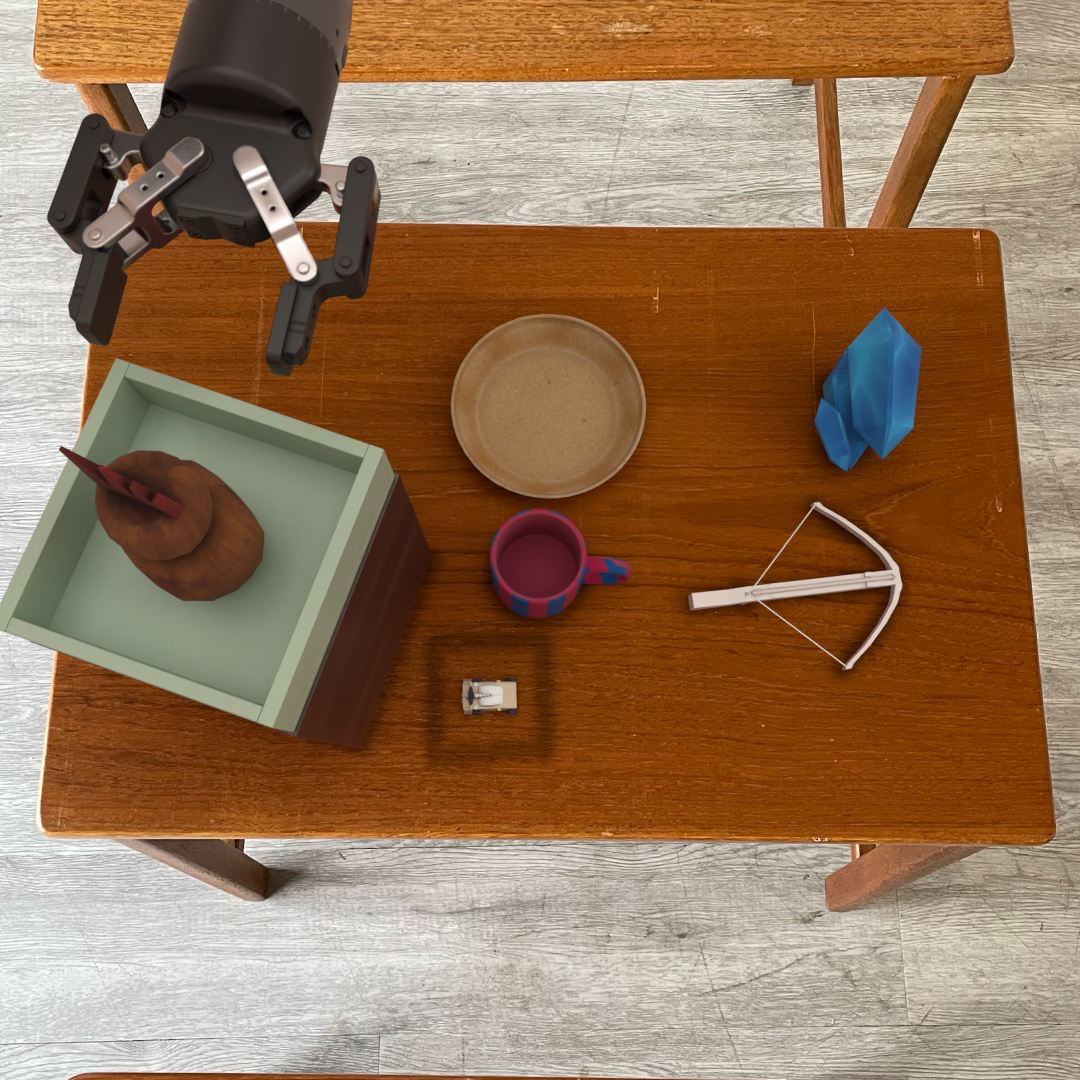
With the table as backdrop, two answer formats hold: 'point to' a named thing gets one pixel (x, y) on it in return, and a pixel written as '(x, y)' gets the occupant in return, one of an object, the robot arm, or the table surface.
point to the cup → (546, 563)
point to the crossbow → (815, 585)
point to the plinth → (366, 628)
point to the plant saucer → (548, 406)
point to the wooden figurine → (176, 522)
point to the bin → (237, 618)
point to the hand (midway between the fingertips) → (184, 354)
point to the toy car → (489, 696)
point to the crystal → (870, 393)
